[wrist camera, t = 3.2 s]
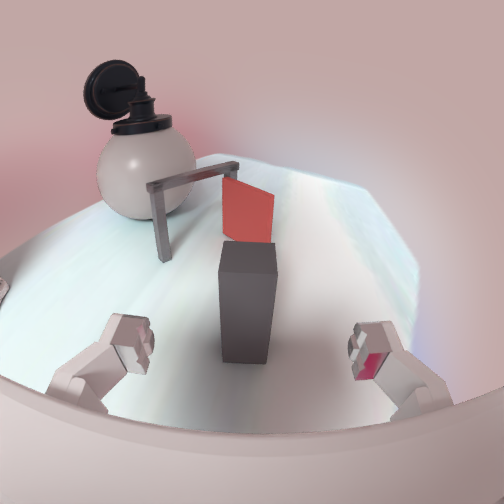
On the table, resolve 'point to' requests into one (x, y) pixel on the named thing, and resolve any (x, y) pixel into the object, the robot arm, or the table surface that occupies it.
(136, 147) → the light fixture
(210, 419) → the table surface
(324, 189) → the table surface
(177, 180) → the frame
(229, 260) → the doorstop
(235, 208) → the red square panel
